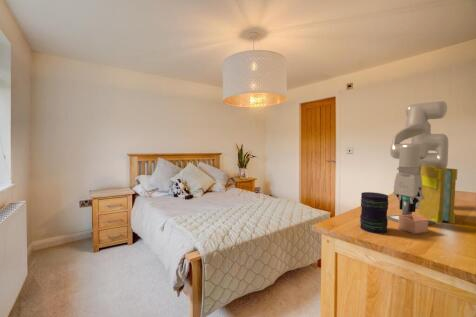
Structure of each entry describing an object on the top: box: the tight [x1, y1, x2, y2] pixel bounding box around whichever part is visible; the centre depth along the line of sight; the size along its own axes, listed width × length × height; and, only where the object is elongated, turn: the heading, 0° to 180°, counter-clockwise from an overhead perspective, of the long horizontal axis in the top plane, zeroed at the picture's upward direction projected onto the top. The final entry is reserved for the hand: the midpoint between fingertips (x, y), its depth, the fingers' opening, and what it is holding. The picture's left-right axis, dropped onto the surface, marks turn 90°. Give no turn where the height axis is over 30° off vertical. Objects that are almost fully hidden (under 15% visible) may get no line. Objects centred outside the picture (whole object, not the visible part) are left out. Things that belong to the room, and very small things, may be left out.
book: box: [418, 166, 459, 224], centre depth 108 cm, size 17×7×25 cm, turn 168°
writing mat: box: [387, 214, 436, 225], centre depth 104 cm, size 15×12×1 cm
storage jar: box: [359, 191, 389, 235], centre depth 92 cm, size 10×10×15 cm
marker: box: [401, 196, 413, 215], centre depth 101 cm, size 4×4×12 cm
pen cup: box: [398, 214, 429, 235], centre depth 91 cm, size 7×7×6 cm
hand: (407, 210), depth 101 cm, fingers closed on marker, 3 cm apart
